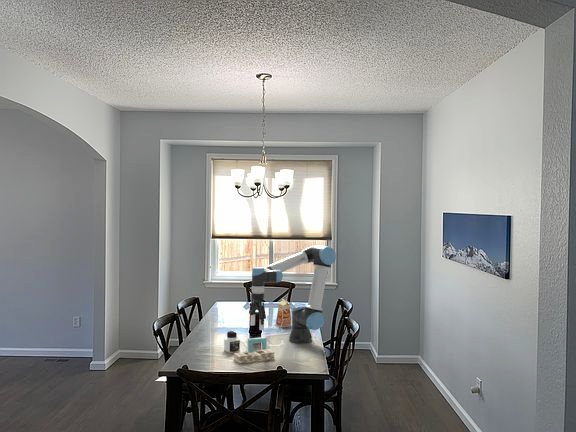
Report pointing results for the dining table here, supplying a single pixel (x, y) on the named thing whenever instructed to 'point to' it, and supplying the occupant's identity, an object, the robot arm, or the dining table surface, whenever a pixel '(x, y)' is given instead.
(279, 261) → the robot arm
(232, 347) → the medicine bottle
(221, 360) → the dining table surface
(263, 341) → the teal arch block
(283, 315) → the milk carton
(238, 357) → the cream toy brick
